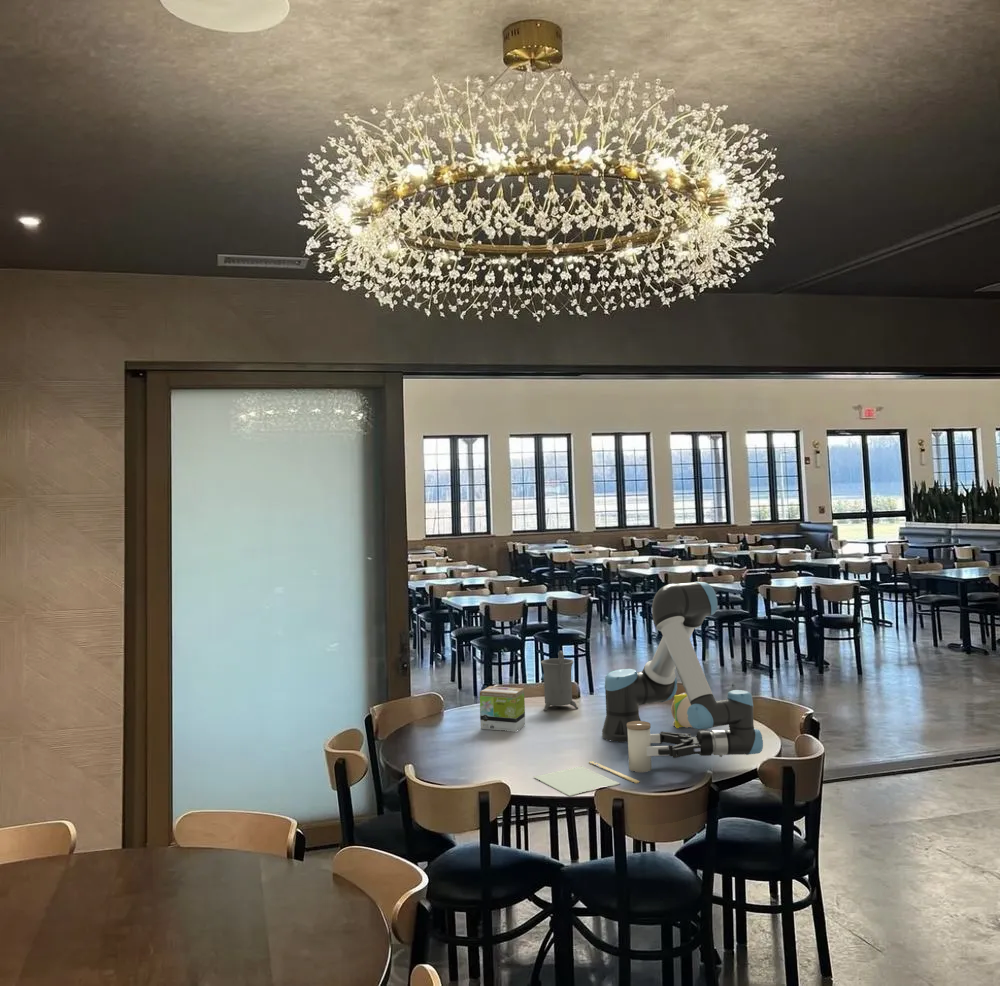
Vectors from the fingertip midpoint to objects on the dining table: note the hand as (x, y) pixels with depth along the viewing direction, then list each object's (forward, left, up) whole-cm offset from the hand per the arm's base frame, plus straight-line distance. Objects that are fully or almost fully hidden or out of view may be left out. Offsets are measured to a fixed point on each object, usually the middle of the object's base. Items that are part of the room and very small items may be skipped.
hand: (643, 745), depth 250 cm
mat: (-3, -24, -8) cm, 25 cm away
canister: (-1, -1, -8) cm, 8 cm away
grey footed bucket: (-83, +22, -8) cm, 86 cm away
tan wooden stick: (-3, -10, -8) cm, 13 cm away
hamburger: (-31, +46, -8) cm, 56 cm away
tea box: (-70, -12, -8) cm, 71 cm away
